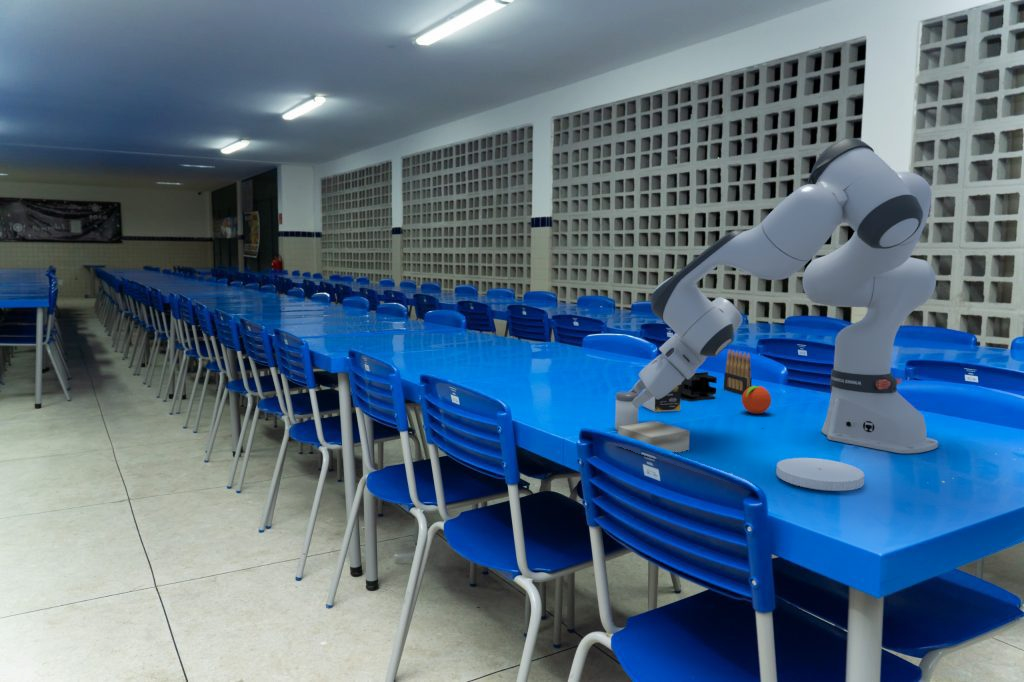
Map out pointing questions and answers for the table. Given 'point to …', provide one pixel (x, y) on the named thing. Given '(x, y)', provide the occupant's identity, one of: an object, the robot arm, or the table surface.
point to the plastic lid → (820, 474)
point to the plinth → (658, 435)
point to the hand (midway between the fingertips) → (631, 400)
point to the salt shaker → (625, 409)
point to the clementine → (756, 399)
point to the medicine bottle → (665, 401)
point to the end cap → (698, 387)
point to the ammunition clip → (737, 372)
